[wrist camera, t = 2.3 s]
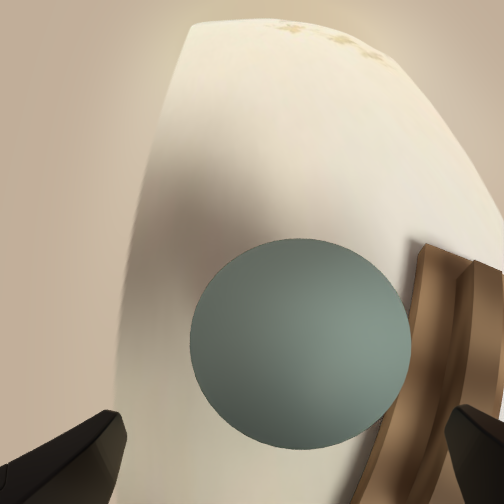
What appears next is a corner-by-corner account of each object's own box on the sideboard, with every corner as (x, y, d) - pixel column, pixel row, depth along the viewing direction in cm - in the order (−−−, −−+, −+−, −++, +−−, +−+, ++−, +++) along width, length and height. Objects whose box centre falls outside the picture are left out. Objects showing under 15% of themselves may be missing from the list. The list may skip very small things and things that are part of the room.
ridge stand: (441, 545, 10) (474, 559, 6) (332, 537, 12) (350, 559, 8) (498, 285, 19) (526, 259, 16) (418, 254, 21) (440, 221, 18)
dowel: (325, 423, 16) (439, 398, 5) (247, 445, 15) (218, 475, 5) (303, 353, 18) (362, 221, 7) (228, 372, 17) (174, 263, 7)
